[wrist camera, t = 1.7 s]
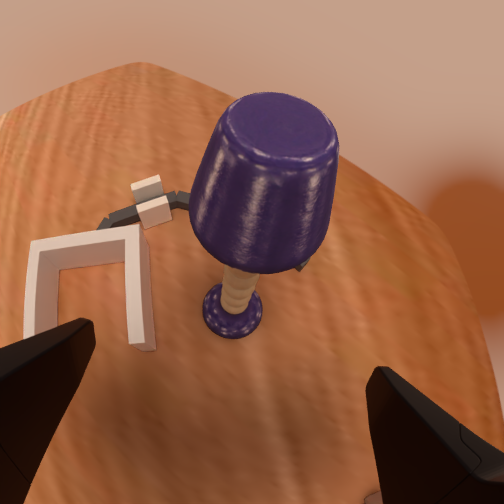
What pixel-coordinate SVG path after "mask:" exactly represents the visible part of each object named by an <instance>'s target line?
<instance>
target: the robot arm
mask: <svg viewBox="0 0 504 504" xmlns="http://www.w3.org/2000/svg"><path fill="white" fill-rule="evenodd" d="M95 345H96V340H95V332H94V325H93V322H92V321H91V320H89V319H85V318H78V319H75V320H73V321H70V322H68V323H65V324H62V325H60V326H57V327H55V328H52V329H49V330H47V331H44V332H42V333H39V334H36V335H34V336H31V337H28V338H26V339H23V340H21V341H18V342H15V343H13V344H10V345H8V346H5V347H2V348H0V504H23V503H24V501H25V498H26V496H27V494H28V491H29V489H30V486H31V483H32V481H33V479H34V476H35V474H36V472H37V470H38V467H39V465H40V463H41V461H42V458H43V456H44V454H45V452H46V450H47V448H48V446H49V443H50V441H51V439H52V437H53V435H54V433H55V431H56V429H57V427H58V425H59V423H60V421H61V419H62V417H63V415H64V413H65V411H66V409H67V407H68V405H69V404H70V402H71V400H72V398H73V396H74V394H75V392H76V390H77V388H78V387H79V385H80V382H81V380H82V378H83V375H84V373H85V370H86V368H87V365H88V363H89V360H90V358H91V356H92V353H93V351H94V349H95ZM366 400H367V410H368V420H369V429H370V435H371V440H372V445H373V450H374V455H375V460H376V466H377V471H378V477H379V483H380V489H381V495H382V501H383V504H504V453H503V452H502V451H500V450H498V449H497V448H495V447H494V446H492V445H491V444H489V443H488V442H486V441H485V440H483V439H482V438H480V437H479V436H477V435H476V434H474V433H473V432H472V431H470V430H469V429H468V428H466V427H465V426H464V425H463V424H461V423H460V424H459V421H457V420H456V419H455V418H453V417H452V416H451V415H450V414H448V413H447V412H446V411H444V410H443V409H442V408H441V407H439V406H438V405H437V404H435V403H434V402H433V401H432V400H430V399H429V398H428V397H426V396H425V395H424V394H423V393H421V392H420V391H419V390H417V389H416V388H415V387H414V386H412V385H411V384H410V383H408V382H407V381H406V380H405V379H403V378H402V377H401V376H400V375H398V374H397V373H396V372H394V371H393V370H392V369H391V368H389V367H387V366H378V367H376V368H375V369H374V371H373V373H372V375H371V377H370V379H369V381H368V383H367V385H366Z"/></svg>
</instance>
